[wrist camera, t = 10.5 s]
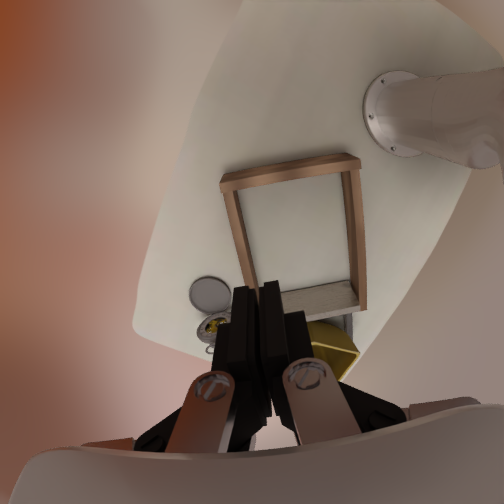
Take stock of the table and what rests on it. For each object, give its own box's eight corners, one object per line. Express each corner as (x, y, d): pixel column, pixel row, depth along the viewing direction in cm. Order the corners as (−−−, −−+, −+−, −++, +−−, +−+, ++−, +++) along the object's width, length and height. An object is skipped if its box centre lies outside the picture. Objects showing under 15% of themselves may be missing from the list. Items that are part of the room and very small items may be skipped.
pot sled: (347, 280, 48) (360, 305, 41) (350, 348, 54) (359, 374, 48) (263, 296, 49) (264, 323, 43) (278, 361, 55) (280, 389, 49)
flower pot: (303, 305, 50) (311, 341, 42) (348, 318, 51) (361, 353, 43) (282, 343, 54) (286, 380, 45) (324, 354, 55) (333, 390, 47)
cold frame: (346, 152, 40) (360, 159, 34) (357, 292, 49) (368, 313, 44) (223, 174, 41) (219, 183, 36) (256, 311, 51) (256, 334, 45)
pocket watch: (203, 268, 47) (192, 305, 38) (248, 295, 49) (247, 336, 40) (178, 303, 50) (164, 343, 41) (221, 327, 52) (215, 369, 43)
